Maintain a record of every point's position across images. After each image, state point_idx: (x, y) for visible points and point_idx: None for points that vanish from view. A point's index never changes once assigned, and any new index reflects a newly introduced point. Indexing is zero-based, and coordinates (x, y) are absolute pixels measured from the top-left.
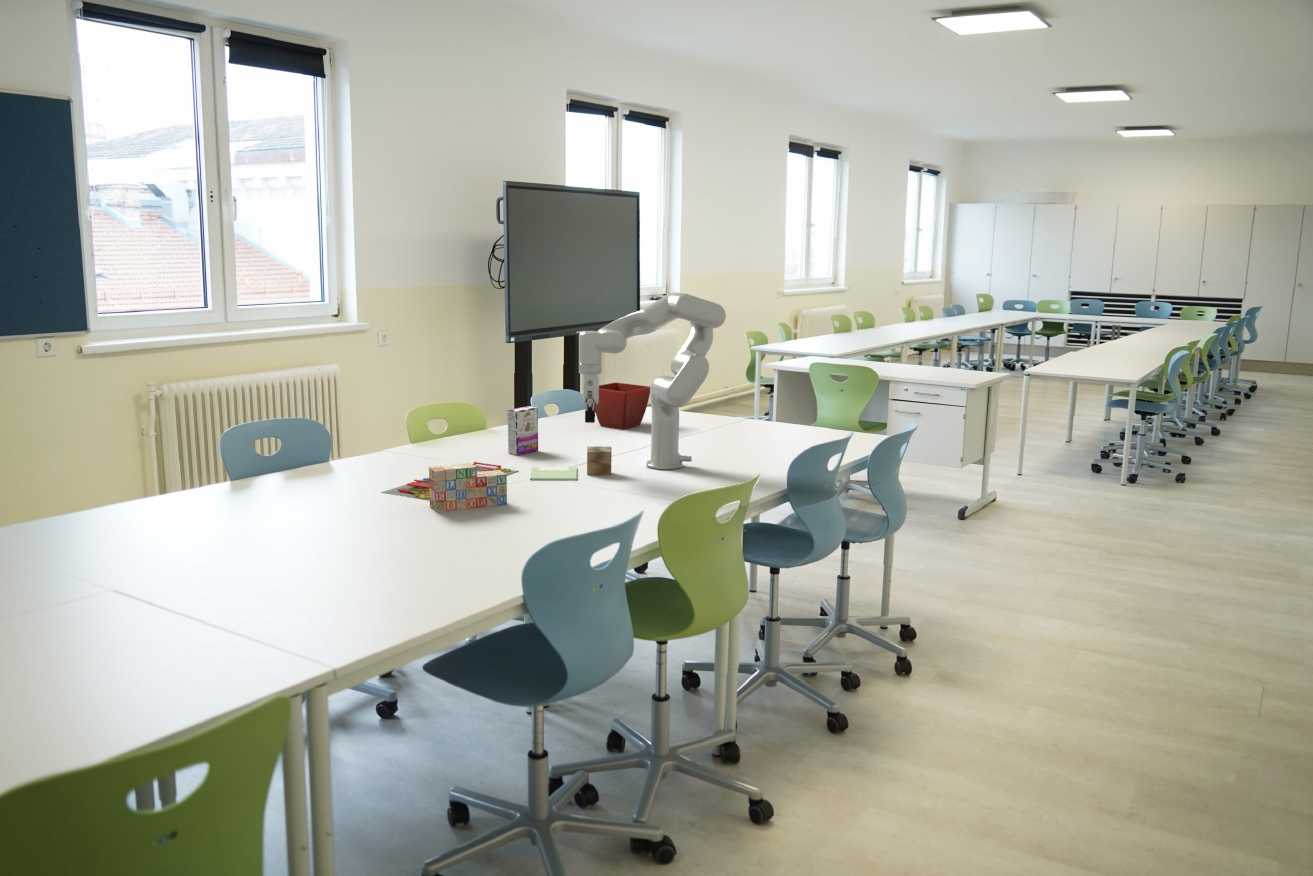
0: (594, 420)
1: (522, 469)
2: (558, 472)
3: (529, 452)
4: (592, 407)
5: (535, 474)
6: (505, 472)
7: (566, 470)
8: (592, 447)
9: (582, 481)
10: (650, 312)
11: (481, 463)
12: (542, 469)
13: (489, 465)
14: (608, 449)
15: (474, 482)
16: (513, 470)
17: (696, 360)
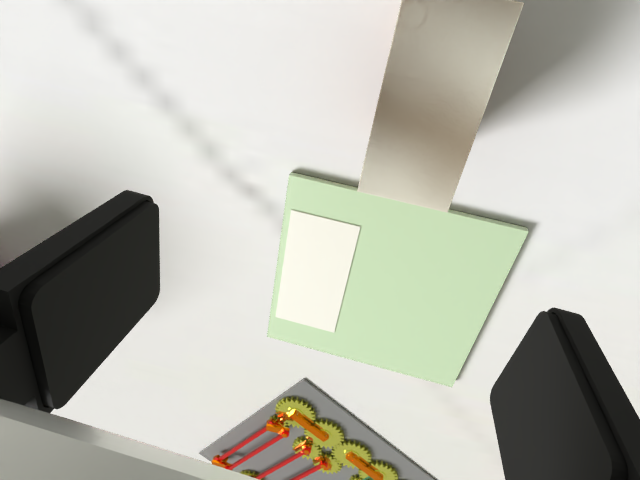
0: (590, 335)
1: (271, 359)
2: (378, 274)
3: None
4: (54, 316)
5: (393, 357)
6: (320, 415)
7: (351, 236)
8: (404, 162)
9: (564, 207)
10: None
11: (244, 461)
12: (315, 317)
13: (249, 441)
14: (511, 37)
15: None
16: (293, 389)
17: None
